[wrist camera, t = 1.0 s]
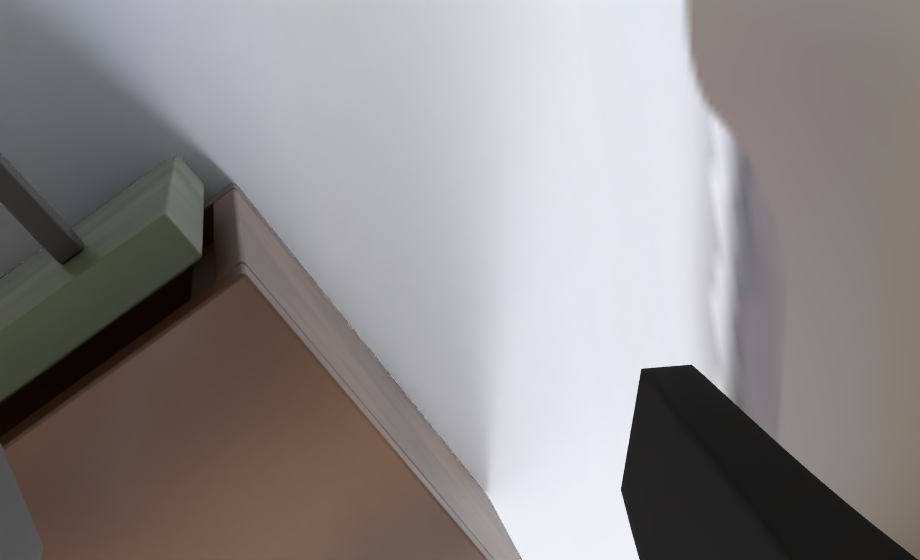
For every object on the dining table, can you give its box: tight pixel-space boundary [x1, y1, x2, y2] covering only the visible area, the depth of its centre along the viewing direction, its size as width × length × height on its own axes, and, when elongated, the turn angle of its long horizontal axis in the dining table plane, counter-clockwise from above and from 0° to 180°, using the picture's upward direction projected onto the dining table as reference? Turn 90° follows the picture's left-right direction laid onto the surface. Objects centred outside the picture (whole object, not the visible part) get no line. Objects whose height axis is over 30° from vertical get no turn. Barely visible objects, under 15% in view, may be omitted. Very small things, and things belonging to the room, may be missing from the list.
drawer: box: [0, 153, 214, 437], centre depth 22 cm, size 18×11×7 cm, turn 33°
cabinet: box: [0, 183, 522, 560], centre depth 24 cm, size 15×13×9 cm
